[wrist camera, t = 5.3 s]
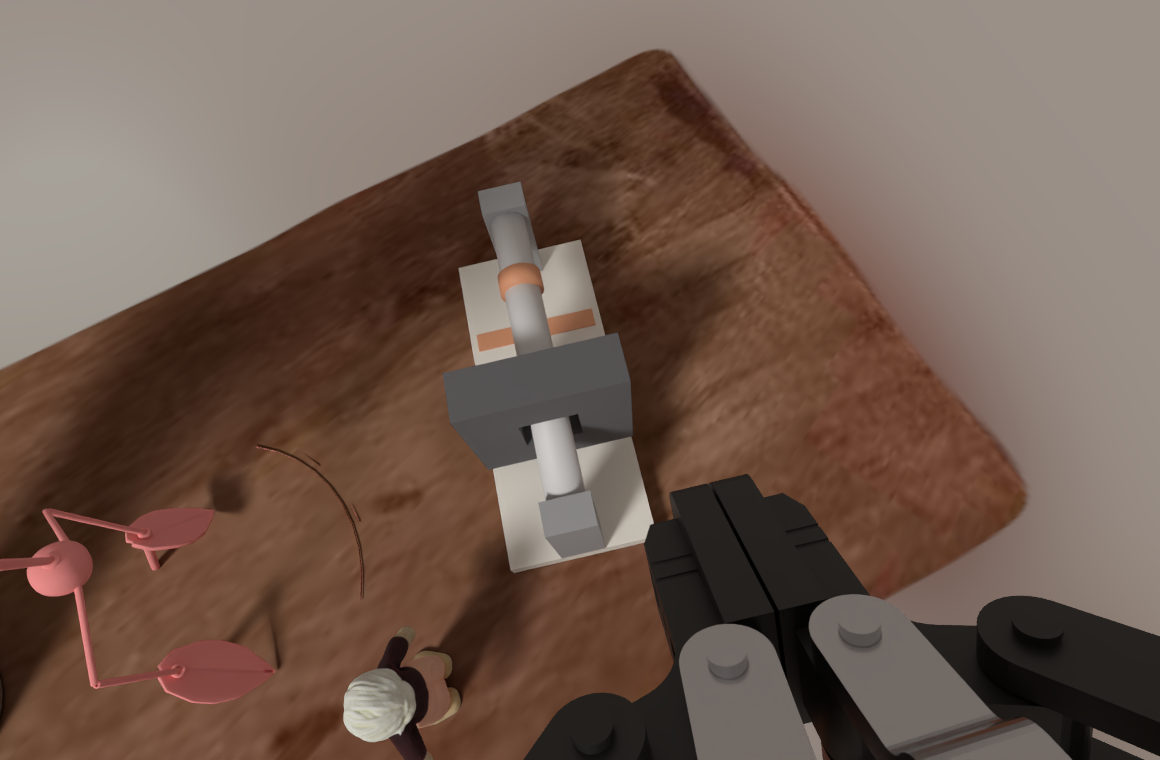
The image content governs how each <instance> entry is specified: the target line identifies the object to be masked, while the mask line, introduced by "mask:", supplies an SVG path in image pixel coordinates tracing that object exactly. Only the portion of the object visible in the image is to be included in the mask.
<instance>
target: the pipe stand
mask: <svg viewBox="0 0 1160 760" xmlns="http://www.w3.org/2000/svg"><path fill="white" fill-rule="evenodd" d="M478 196H479V201H480V206H481V211H482V216H483V219H484V221H485V224H486V227H487V230H488V232H489V235H490V238H491V241H492V243H493V246H494V249H495V252H496V254H497V259H495V260H491V261H487V262H483V263H478V264H474V265H470V266H465V267H461V268H459V274H460V280H461V285H462V291H463V297H464V303H465V309H466V315H467V320H468V326H469V332H470V338H471V344H472V349H473V355H474V361H475V366H476V365H481V364H485V363H489V362H494V361H498V360H502V359H506V358H511V357H515V356H519V355H523V354H528V353H532V352H536V351H541V350H545V349H549V348H553V347H558V346H562V345H566V344H571V343H575V342H579V341H583V340H588V339H592V338H596V337H601V336H605V333H604V329H603V325H602V321H601V317H600V313H599V309H598V305H597V302H596V298H595V294H594V290H593V286H592V282H591V278H590V274H589V271H588V267H587V263H586V259H585V255H584V251H583V247H582V243H581V240H577V241H573V242H568V243H564V244H560V245H555V246H551V247H547V248H543V249H538V248H537V244H536V240H535V237H534V233H533V229H532V225H531V221H530V217H529V213H528V209H527V205H526V202H525V198H524V194H523V190H522V186H521V182H516V183H512V184H507V185H503V186H499V187H494V188H490V189H486V190H482V191H478ZM531 430H532V435H533V440H534V445H535V450H536V455H537V459H533V460H529V461H525V462H521V463H516V464H512V465H508V466H503V467H499V468H495V469H493V471H494V477H495V483H496V489H497V495H498V501H499V506H500V512H501V518H502V524H503V530H504V535H505V541H506V547H507V553H508V559H509V564H510V570H511V571H512V572H514V573H517V572H521V571H525V570H529V569H534V568H538V567H542V566H546V565H551V564H555V563H559V562H563V561H568V560H572V559H576V558H580V557H585V556H589V555H593V554H597V553H602V552H606V551H610V550H615V549H619V548H623V547H627V546H632V545H636V544H640V543H644V542H645V539H646V536H647V533H648V530H649V526H650V525H651V524H654V522H653V519H652V515H651V511H650V507H649V503H648V499H647V495H646V491H645V488H644V484H643V480H642V476H641V472H640V468H639V464H638V460H637V457H636V453H635V449H634V445H633V441H632V437H627V438H623V439H619V440H614V441H610V442H606V443H602V444H597V445H593V446H589V447H585V448H580V449H576V446H575V442H574V437H573V433H572V428H571V424H570V419H569V416H567V417H563V418H558V419H554V420H550V421H546V422H541V423H537V424H533V425H531Z"/></svg>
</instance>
